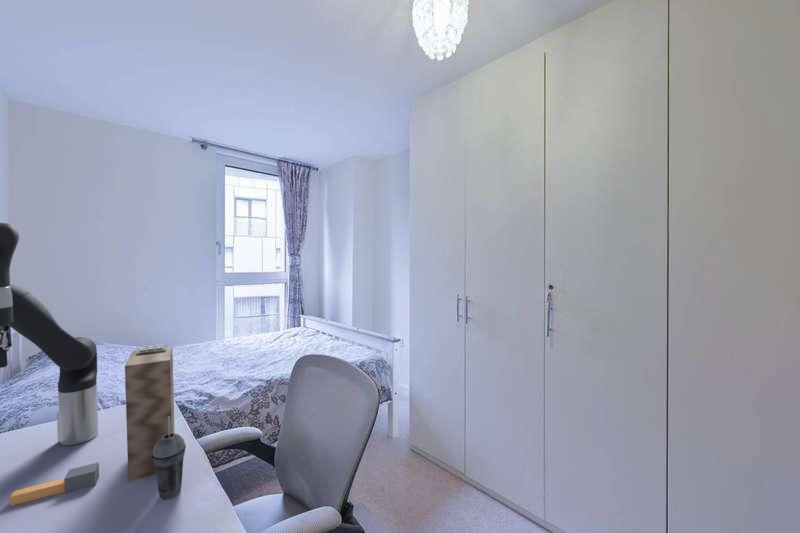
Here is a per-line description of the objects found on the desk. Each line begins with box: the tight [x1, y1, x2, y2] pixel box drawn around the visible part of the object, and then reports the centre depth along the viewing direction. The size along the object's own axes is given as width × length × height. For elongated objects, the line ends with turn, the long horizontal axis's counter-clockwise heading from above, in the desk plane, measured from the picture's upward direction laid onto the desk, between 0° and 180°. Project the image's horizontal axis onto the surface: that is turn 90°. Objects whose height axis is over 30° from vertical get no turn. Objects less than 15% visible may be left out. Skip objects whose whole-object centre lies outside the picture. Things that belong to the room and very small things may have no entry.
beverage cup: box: [152, 416, 187, 501], centre depth 88 cm, size 7×7×20 cm
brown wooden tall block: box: [124, 344, 176, 483], centre depth 101 cm, size 10×16×33 cm, turn 32°
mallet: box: [9, 462, 100, 506], centre depth 89 cm, size 16×4×4 cm, turn 122°
